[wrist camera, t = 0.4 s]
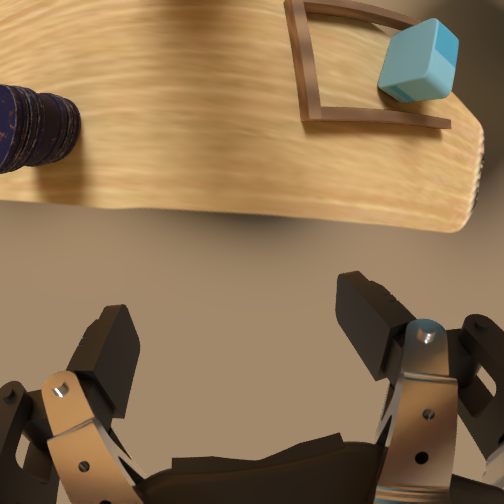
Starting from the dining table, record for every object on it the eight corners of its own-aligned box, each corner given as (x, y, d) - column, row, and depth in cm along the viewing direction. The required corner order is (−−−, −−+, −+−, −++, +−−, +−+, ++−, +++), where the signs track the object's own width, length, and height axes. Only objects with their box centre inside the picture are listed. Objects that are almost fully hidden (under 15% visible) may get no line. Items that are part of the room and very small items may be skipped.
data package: (397, 104, 34) (450, 99, 23) (374, 89, 33) (426, 77, 22) (411, 50, 30) (460, 36, 19) (391, 35, 29) (438, 15, 18)
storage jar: (50, 87, 26) (-13, 72, 12) (93, 112, 29) (32, 99, 15) (21, 146, 28) (-45, 156, 14) (61, 175, 31) (-5, 195, 17)
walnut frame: (283, 3, 26) (289, -8, 23) (421, 30, 28) (433, 25, 25) (301, 121, 33) (309, 119, 30) (437, 128, 36) (451, 129, 32)
